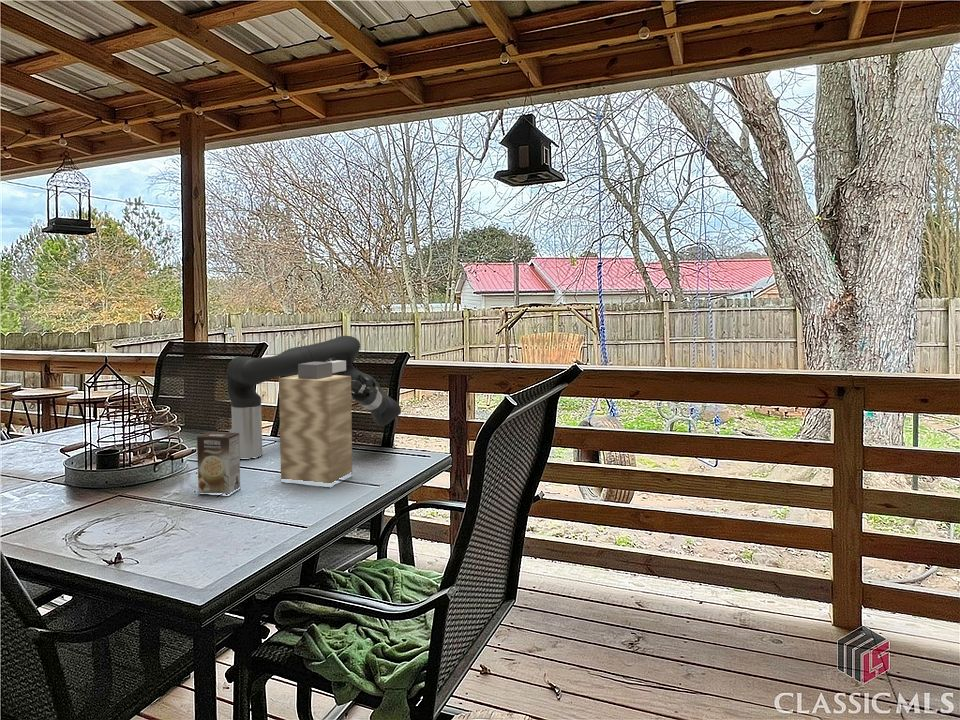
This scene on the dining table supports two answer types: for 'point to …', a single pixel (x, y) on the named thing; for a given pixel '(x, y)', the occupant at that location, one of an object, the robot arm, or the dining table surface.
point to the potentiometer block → (320, 369)
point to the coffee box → (218, 462)
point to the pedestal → (315, 428)
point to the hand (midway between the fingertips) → (345, 376)
